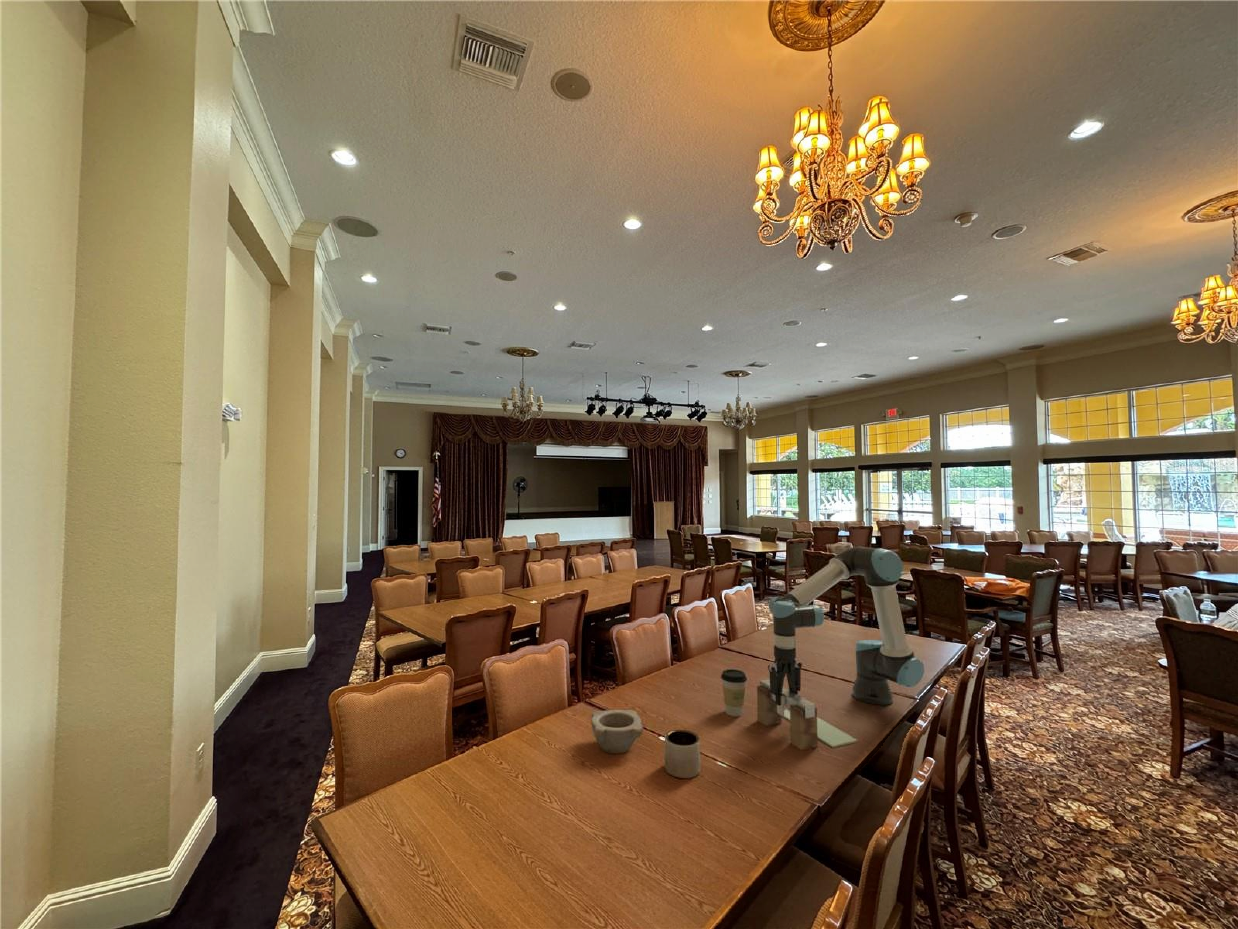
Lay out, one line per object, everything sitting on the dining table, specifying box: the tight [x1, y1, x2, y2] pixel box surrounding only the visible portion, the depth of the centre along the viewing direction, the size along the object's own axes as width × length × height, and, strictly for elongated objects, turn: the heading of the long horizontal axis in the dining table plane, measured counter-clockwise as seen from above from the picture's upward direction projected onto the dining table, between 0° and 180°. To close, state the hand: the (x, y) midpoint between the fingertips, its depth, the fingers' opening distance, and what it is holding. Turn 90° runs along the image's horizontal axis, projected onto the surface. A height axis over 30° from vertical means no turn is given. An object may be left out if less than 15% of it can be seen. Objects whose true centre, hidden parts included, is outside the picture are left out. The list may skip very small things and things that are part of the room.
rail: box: [759, 678, 816, 718], centre depth 174 cm, size 24×4×4 cm, turn 21°
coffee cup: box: [720, 668, 748, 717], centre depth 189 cm, size 10×10×15 cm
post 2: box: [789, 705, 819, 751], centre depth 165 cm, size 7×5×12 cm
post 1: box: [756, 685, 783, 727], centre depth 182 cm, size 7×5×12 cm
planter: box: [664, 729, 701, 779], centre depth 150 cm, size 11×11×10 cm
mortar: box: [590, 709, 644, 755], centre depth 163 cm, size 17×17×9 cm
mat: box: [782, 708, 858, 748], centre depth 178 cm, size 11×28×1 cm, turn 21°
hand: (785, 713), depth 174 cm, fingers closed on rail, 4 cm apart
